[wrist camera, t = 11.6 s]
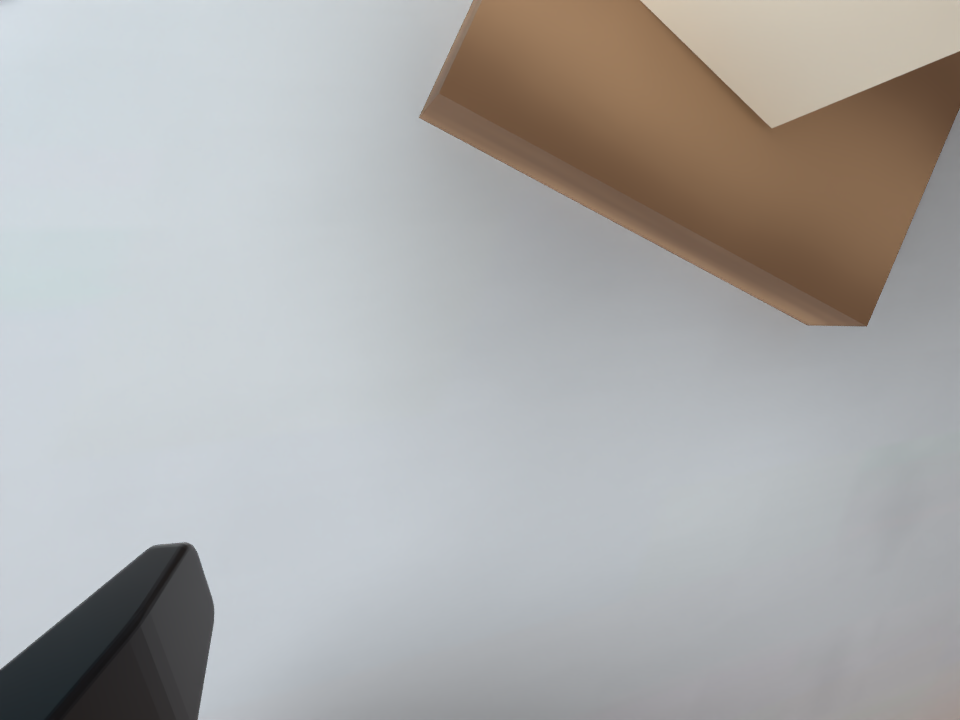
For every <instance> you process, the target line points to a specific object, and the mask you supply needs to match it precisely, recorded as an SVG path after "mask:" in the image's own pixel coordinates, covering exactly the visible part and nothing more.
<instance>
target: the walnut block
mask: <svg viewBox="0 0 960 720" xmlns="http://www.w3.org/2000/svg"><path fill="white" fill-rule="evenodd" d="M959 108H960V51H959V52H956V53H954V54H951V55H949V56H947V57H944V58H942V59H939V60H937V61H934V62H932V63H930V64H927V65H925V66H922V67H920V68H917V69H915V70H913V71H910V72H908V73H905V74H903V75H900V76H898V77H896V78H893V79H891V80H888V81H886V82H883V83H881V84H879V85H876V86H874V87H871V88H869V89H866V90H864V91H862V92H859V93H857V94H854V95H852V96H849V97H847V98H845V99H842V100H840V101H837V102H835V103H833V104H830V105H828V106H825V107H823V108H820V109H818V110H816V111H813V112H811V113H808V114H806V115H803V116H801V117H799V118H796V119H794V120H791V121H789V122H786V123H784V124H782V125H779V126H777V127H774V128H771V127H770V126H769V125H768V124H766V123H765V122H764V121H763V120H762V119H761V118H760V117H759V116H758V115H757V114H756V113H755V112H754V111H753V110H752V109H751V108H750V107H749V106H748V105H747V104H746V103H745V102H744V101H743V100H742V99H741V98H740V97H739V96H738V95H737V94H736V93H735V92H734V91H733V90H732V89H731V88H730V87H729V86H728V85H726V84H725V83H724V82H723V81H722V80H721V79H720V78H719V77H718V76H717V75H716V74H715V73H714V72H713V71H712V70H711V69H710V68H709V67H708V66H707V65H706V64H705V63H704V62H703V61H702V60H701V59H700V58H699V57H698V56H697V55H696V54H695V53H694V52H693V51H692V50H691V49H690V48H689V47H688V46H687V45H685V44H684V43H683V42H682V41H681V40H680V39H679V38H678V37H677V36H676V35H675V34H674V33H673V32H672V31H671V30H670V29H669V28H668V27H667V26H666V25H665V24H664V23H663V22H662V21H661V20H660V19H659V18H658V17H657V16H656V15H655V14H654V13H653V12H652V11H651V10H650V9H649V8H648V7H647V6H646V5H644V4H643V3H642V2H641V1H640V0H473V2H472V4H471V7H470V9H469V11H468V13H467V15H466V17H465V19H464V22H463V24H462V26H461V28H460V30H459V32H458V35H457V37H456V39H455V41H454V43H453V45H452V47H451V50H450V52H449V54H448V56H447V58H446V60H445V63H444V65H443V67H442V69H441V71H440V73H439V76H438V78H437V80H436V82H435V84H434V86H433V88H432V91H431V93H430V95H429V97H428V99H427V101H426V104H425V106H424V108H423V110H422V112H421V114H420V117H419V118H421V119H423V120H424V121H426V122H428V123H430V124H432V125H434V126H436V127H438V128H439V129H441V130H443V131H445V132H447V133H449V134H451V135H453V136H454V137H456V138H458V139H460V140H462V141H464V142H466V143H468V144H469V145H471V146H473V147H475V148H477V149H479V150H481V151H482V152H484V153H486V154H488V155H490V156H492V157H494V158H496V159H497V160H499V161H501V162H503V163H505V164H507V165H509V166H511V167H512V168H514V169H516V170H518V171H520V172H522V173H524V174H525V175H527V176H529V177H531V178H533V179H535V180H537V181H539V182H540V183H542V184H544V185H546V186H548V187H550V188H552V189H554V190H555V191H557V192H559V193H561V194H563V195H565V196H567V197H569V198H570V199H572V200H574V201H576V202H578V203H580V204H582V205H583V206H585V207H587V208H589V209H591V210H593V211H595V212H597V213H598V214H600V215H602V216H604V217H606V218H608V219H610V220H612V221H613V222H615V223H617V224H619V225H621V226H623V227H625V228H627V229H628V230H630V231H632V232H634V233H636V234H638V235H640V236H641V237H643V238H645V239H647V240H649V241H651V242H653V243H655V244H656V245H658V246H660V247H662V248H664V249H666V250H668V251H670V252H671V253H673V254H675V255H677V256H679V257H681V258H683V259H685V260H686V261H688V262H690V263H692V264H694V265H696V266H698V267H699V268H701V269H703V270H705V271H707V272H709V273H711V274H713V275H714V276H716V277H718V278H720V279H722V280H724V281H726V282H728V283H729V284H731V285H733V286H735V287H737V288H739V289H741V290H743V291H744V292H746V293H748V294H750V295H752V296H754V297H756V298H757V299H759V300H761V301H763V302H765V303H767V304H769V305H771V306H772V307H774V308H776V309H778V310H780V311H782V312H784V313H786V314H787V315H789V316H791V317H793V318H795V319H797V320H799V321H800V322H802V323H804V324H806V325H821V326H867V325H868V322H869V320H870V318H871V315H872V313H873V311H874V308H875V306H876V304H877V301H878V299H879V296H880V294H881V292H882V289H883V287H884V285H885V282H886V280H887V278H888V275H889V273H890V271H891V268H892V266H893V263H894V261H895V259H896V256H897V254H898V252H899V249H900V247H901V245H902V242H903V240H904V238H905V235H906V233H907V230H908V228H909V226H910V223H911V221H912V219H913V216H914V214H915V212H916V209H917V207H918V205H919V202H920V200H921V197H922V195H923V193H924V190H925V188H926V186H927V183H928V181H929V179H930V176H931V174H932V172H933V169H934V167H935V164H936V162H937V160H938V157H939V155H940V153H941V150H942V148H943V146H944V143H945V141H946V139H947V136H948V134H949V132H950V129H951V127H952V124H953V122H954V120H955V117H956V115H957V113H958V110H959Z"/></svg>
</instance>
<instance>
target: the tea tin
mask: <svg viewBox="0 0 960 720" xmlns="http://www.w3.org/2000/svg"><path fill="white" fill-rule="evenodd" d="M640 1H641V2H642V3H643V4H644V5H646V6H647V7H648V8H649V9H650V10H651V11H652V12H653V13H654V14H655V15H656V16H657V17H658V18H659V19H660V20H661V21H662V22H663V23H664V24H665V25H666V26H667V27H668V28H669V29H670V30H671V31H672V32H673V33H674V34H675V35H676V36H677V37H678V38H679V39H680V40H681V41H682V42H683V43H684V44H685V45H687V46H688V47H689V48H690V49H691V50H692V51H693V52H694V53H695V54H696V55H697V56H698V57H699V58H700V59H701V60H702V61H703V62H704V63H705V64H706V65H707V66H708V67H709V68H710V69H711V70H712V71H713V72H714V73H715V74H716V75H717V76H718V77H719V78H720V79H721V80H722V81H723V82H724V83H725V84H726V85H728V86H729V87H730V88H731V89H732V90H733V91H734V92H735V93H736V94H737V95H738V96H739V97H740V98H741V99H742V100H743V101H744V102H745V103H746V104H747V105H748V106H749V107H750V108H751V109H752V110H753V111H754V112H755V113H756V114H757V115H758V116H759V117H760V118H761V119H762V120H763V121H764V122H765V123H766V124H768V125H769V126H770V127H771V128H774V127H777V126H779V125H782V124H784V123H786V122H789V121H791V120H794V119H796V118H799V117H801V116H803V115H806V114H808V113H811V112H813V111H816V110H818V109H820V108H823V107H825V106H828V105H830V104H833V103H835V102H837V101H840V100H842V99H845V98H847V97H849V96H852V95H854V94H857V93H859V92H862V91H864V90H866V89H869V88H871V87H874V86H876V85H879V84H881V83H883V82H886V81H888V80H891V79H893V78H896V77H898V76H900V75H903V74H905V73H908V72H910V71H913V70H915V69H917V68H920V67H922V66H925V65H927V64H930V63H932V62H934V61H937V60H939V59H942V58H944V57H947V56H949V55H951V54H954V53H956V52H959V51H960V0H640Z"/></svg>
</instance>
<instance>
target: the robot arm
mask: <svg viewBox="0 0 960 720" xmlns="http://www.w3.org/2000/svg"><path fill="white" fill-rule="evenodd" d="M213 624H214V605H213V600H212V596H211V593H210V590H209V587H208V584H207V581H206V578H205V575H204V571H203V568H202V565H201V562H200V559H199V556H198V553H197V551H196V549H195V548H194V547H193V545H191V544H189V543H186V542H184V543H172V544H160V545H155V546H152V547H150V548H149V549H147V550H146V551H145V552H143V553H142V554H141V555H140V556H138V557H137V558H136V559H135V560H134V561H132V562H131V563H130V564H129V565H127V566H126V567H125V568H124V569H123V570H121V571H120V572H119V573H118V574H116V575H115V576H114V577H113V578H112V579H110V580H109V581H108V582H107V583H105V584H104V585H103V586H102V587H101V588H99V589H98V590H97V591H96V592H95V593H93V594H92V595H91V596H90V597H88V598H87V599H86V600H85V601H84V602H82V603H81V604H80V605H79V606H77V607H76V608H75V609H74V610H73V611H71V612H70V613H69V614H68V615H66V616H65V617H64V618H63V619H62V620H60V621H59V622H58V623H57V624H55V625H54V626H53V627H52V628H51V629H49V630H48V631H47V632H46V633H44V634H43V635H42V636H41V637H40V638H38V639H37V640H36V641H35V642H33V643H32V644H31V645H30V646H29V647H27V648H26V649H25V650H24V651H22V652H21V653H20V654H19V655H18V656H16V657H15V658H14V659H13V660H11V661H10V662H9V663H8V664H7V665H5V666H4V667H3V668H2V669H0V720H198V714H199V708H200V702H201V696H202V690H203V684H204V678H205V672H206V666H207V660H208V654H209V648H210V642H211V636H212V630H213Z"/></svg>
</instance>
